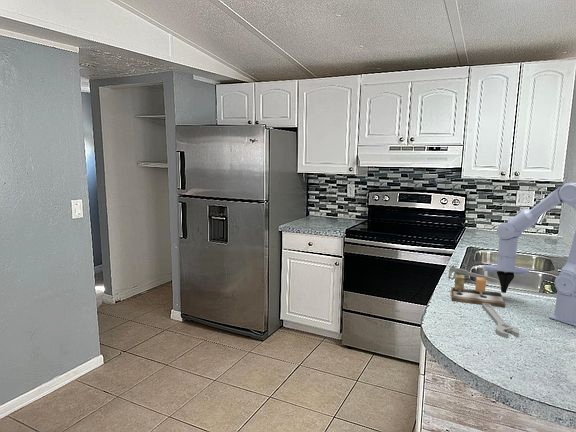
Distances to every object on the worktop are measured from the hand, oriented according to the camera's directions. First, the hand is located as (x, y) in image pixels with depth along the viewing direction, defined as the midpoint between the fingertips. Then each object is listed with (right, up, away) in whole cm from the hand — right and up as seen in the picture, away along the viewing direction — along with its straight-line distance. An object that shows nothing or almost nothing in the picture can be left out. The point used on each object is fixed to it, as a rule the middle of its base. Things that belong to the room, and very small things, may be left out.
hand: (503, 291), depth 148 cm
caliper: (0, 0, +22) cm, 22 cm away
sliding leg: (-8, 0, +1) cm, 8 cm away
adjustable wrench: (-11, -6, -19) cm, 23 cm away
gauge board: (-9, -3, +1) cm, 10 cm away
